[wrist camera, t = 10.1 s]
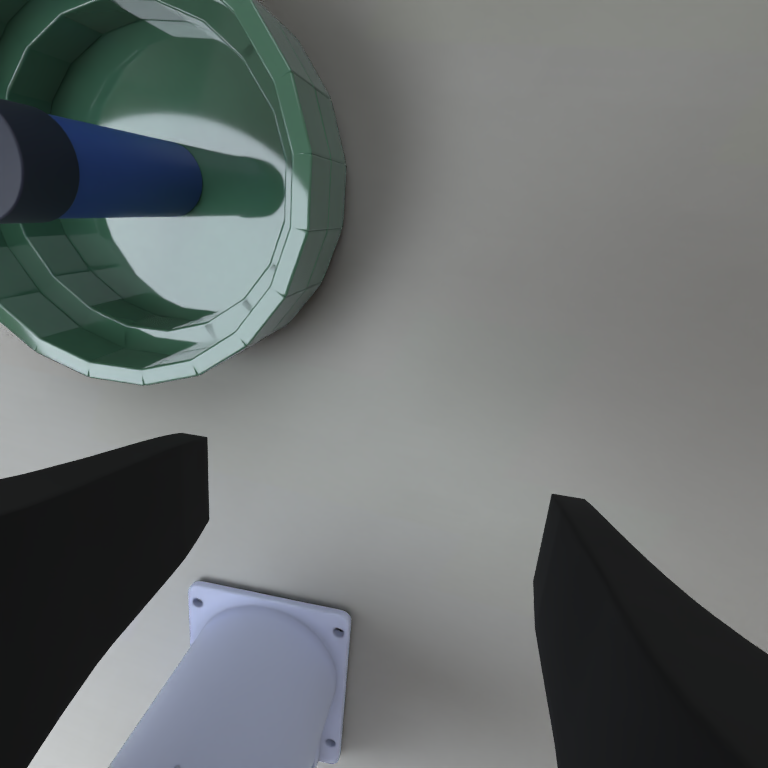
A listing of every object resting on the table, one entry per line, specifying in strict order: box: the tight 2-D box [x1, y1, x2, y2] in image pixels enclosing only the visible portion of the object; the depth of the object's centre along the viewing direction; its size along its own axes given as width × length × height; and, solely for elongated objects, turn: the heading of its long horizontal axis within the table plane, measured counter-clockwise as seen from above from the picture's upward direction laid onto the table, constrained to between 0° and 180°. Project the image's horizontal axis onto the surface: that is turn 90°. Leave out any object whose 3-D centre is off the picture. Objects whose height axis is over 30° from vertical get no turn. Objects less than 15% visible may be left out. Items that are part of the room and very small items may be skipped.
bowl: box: [0, 0, 346, 386], centre depth 18 cm, size 13×13×4 cm
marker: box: [0, 99, 202, 224], centre depth 16 cm, size 3×3×8 cm
